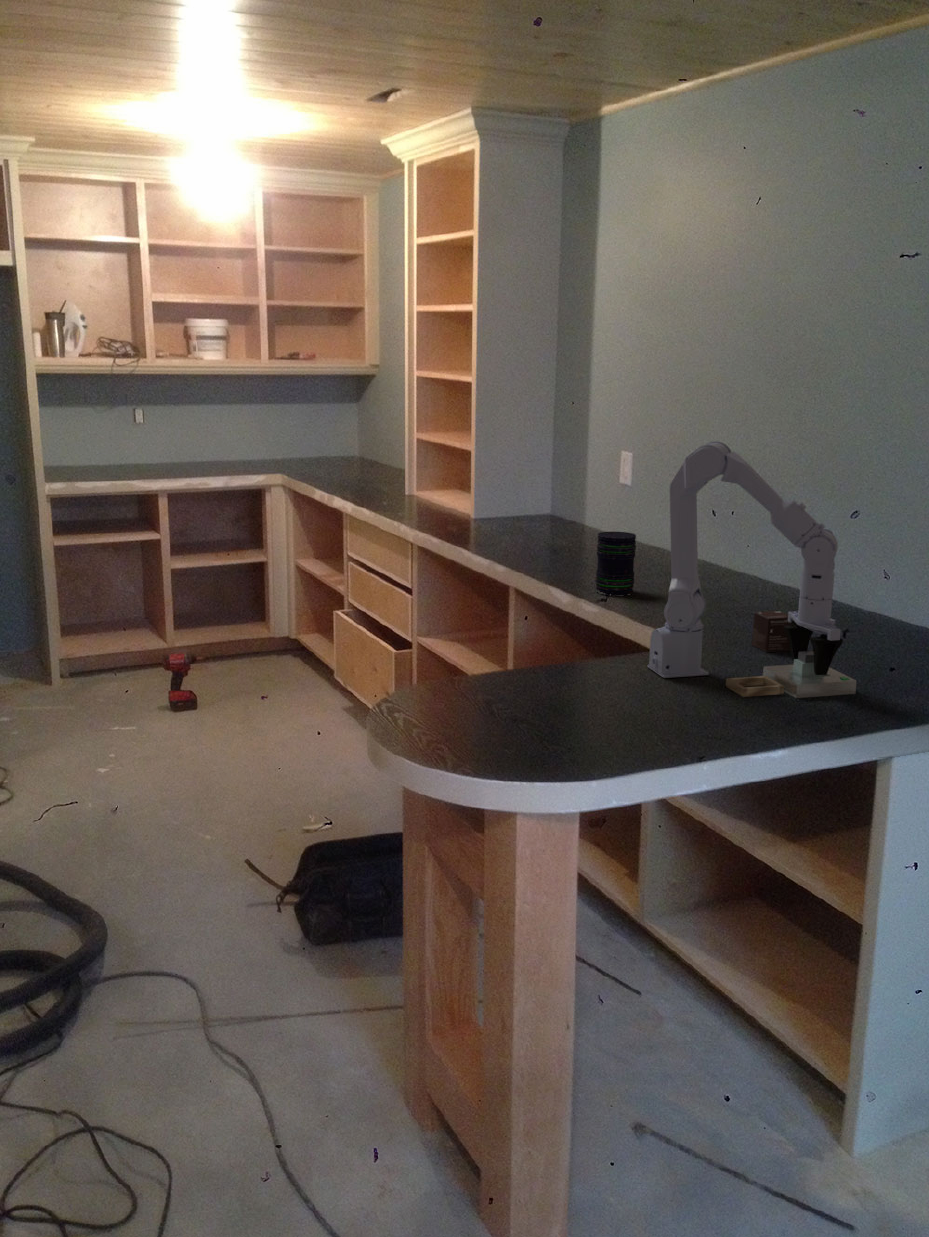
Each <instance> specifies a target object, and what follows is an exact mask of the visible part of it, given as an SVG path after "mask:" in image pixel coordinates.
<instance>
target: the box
mask: <svg viewBox="0 0 929 1237" xmlns="http://www.w3.org/2000/svg"><path fill="white" fill-rule="evenodd" d="M790 624H791V623H790V622H788V614H787V613H785V612H782V611H779V610H778V611H776V610H775V611H771V610H769V611H765V610H764V611H754V614H753V624H752V634H751V635H752V636H751V646H753V647H754V648H757V649H759V650H761V651H763V652H764V653H776V652H778V653H779V652H789V651H790V652H791V649H790V644H789V640H788V638H787V635H786V633H785V631H784V626H785V625H790Z"/></svg>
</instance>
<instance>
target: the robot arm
mask: <svg viewBox="0 0 929 1237" xmlns="http://www.w3.org/2000/svg"><path fill="white" fill-rule="evenodd" d="M721 475H722V477H721V478H720V482H724V483H725V482H726V483H729V484H736V485H739V487H740V488H742V489H743V490H744V491H745V492H747V493H748V494H749V495H750V497H752V498H753V499H755V500H756V501H757V502H758V503H759V504H760V505H761V506H763V507H764V509H766V510H767V511H768V512H769V514H770V523H771V525H772V526H773V527H775V529H776V530H778V531H779V532H780V533H781V534H782V535H783V537H785V538H786V539H787V540H788V541H789V542H790V543H791V544H792V545H793V546H794V547H795V548H799V549H800V551H801V556H802V558H803V564H802V565H803V567H802V571H801V573H800V574H801V575H800V587H799V600H798V611H797V610H796V611H788V614H787V615H788V622H790V623H791V624H790V625H785V626H784V631H785V633H786V635H787V638H788V640H789V644H790V649H791V651H790V654H791V659H792V663H793V664H794V659H798V654H799V652H803V651H809V644H810V643H811V646H812V651H813V652H814V672H815V674H816V675H827V672H828V670H829V667H830V666H831V664H832V661H833V659H834V657H835V655H836V653H837V652H838V650H839V648H841V646H842V645H843V644H844V639H843V638H841V632H842V630H841V628H838V627H837V626H836V625H835V624H836V620H835V619H833V618H831V617H832V616H831V615H832V606H833V596H834V594H833V593H834V584H835V572H834V570H835V567H836V565H835V558H836V555H837V551H838V548H839V544H838V540H837V537H836V536H835V535H834V533H833V531H832V530H831V529H830V530H829V529H827V528H826V525H825V524H824V523H822V522H820V523H819V522H817V520H816V519H815V518H814V517H813V516H811V514H810V513H808V512H807V511H806V510H805V509H806V508H807V506H806V505H805V503H803V502H800V503H798V502H796V500H793V499H791V500H790V499H789V500H787V499H786V500H785V499H783V498H782V496H780V495H779V494H778V493H777V492H776V491H775V489H774V488H772V486H770V484H769V483H768V482H767V481H766V480H765V479H764V478H763V477H762V476H761V475H760V474H759V473H758V472H757V471H756V470H755V469H754V468H753V467H752V466H751V465H750V464H749V463H748V462H747V461H746V460H745V459H744V458H743V457H742V456H741V455H739V454H738V453H737V452H735V451H732V450H731V448H730V447H729V446H728V445H727V444H725V443H724V442H722V441H718V440H715V441H710V442H708V443H706V444H703V445H700V446H698V447H696V448H695V449H694V450H693V451H692V452H690V453H689V454H688V455H686V456H685V458H684V460H683V463H682V464H681V466H680V468H679V469H678V471H677V473H676V474H675V475H674V477H673V479H672V480H671V482H670V483H669V522H670V564H671V565H670V566H671V568H670V570H671V571H670V572H671V574H670V575H671V580H670V585H669V586H668V587H669V588H668V599H667V602H666V604H665V606H664V610H663V615H664V616H663V618H664V619H665V621H666V622H664V626H662V627H659V628H653V630H652V631H651V634H650V643H649V644H650V645H649V660H648V662H649V664H647V668H649V670H651V671H653V672H654V673H655V674H657V675H659V676H660V677H662V678H663V679H669V678H683V677H684V678H686V677H697V676H698V677H700V676H701V677H702V676H709V675H710V673H709V672H708V671H707V670H705V669H704V668H702V667H701V665H702V651H703V634H704V623H703V622H702V620H701V618H700V617H701V616H703V614H704V613H705V612H706V611H705V610H706V606H707V603H706V599H705V596H704V595H703V592H702V589H701V581H700V577H699V573H698V572H699V567H698V566H699V565H698V564H699V563H698V562H699V561H698V558H699V557H698V556H699V555H698V504H697V503H698V502H697V500H698V499H697V496H698V495H697V494H698V493H699V491H701V490H702V489H703V488H704V487H705V486H706V485H707V484H708V483H710V481H712V480H714V479H715V478H718V477H719V476H721ZM813 633H816V634H818V635H819V636H812V635H813ZM830 668H831V667H830Z"/></svg>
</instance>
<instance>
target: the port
mask: <svg viewBox="0 0 929 1237" xmlns="http://www.w3.org/2000/svg"><path fill="white" fill-rule="evenodd" d="M793 665H794V663H793V664H785V665H784V664H782V665H781V664H780V665H767V666H765V665H764V666H763V670H762V672H763V673H762V676H767V677H769V678H771V679H772V680H774V681H776V682H778V683H779V684H781V685H783V686H784V693H786V694H789V696H792V697H794V698H795V699H802V698H804V699H805V698H817V697H829V696H832V697H833V696H842V695H843V696H844V695H855V694H856V690H857V680H856V679H855V678H852V677H851V676H848V675H846V674H844V673H842V672H840V671H839V670H836V669H834V668H832V667H829V670H828V672H827V675H823V676H822V677H807V678H800V677H798V676H796V675H795V674H793Z"/></svg>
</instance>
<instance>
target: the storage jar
mask: <svg viewBox="0 0 929 1237" xmlns="http://www.w3.org/2000/svg"><path fill="white" fill-rule="evenodd" d="M636 539H637V535H636V534H635V533H632V532H628V531H627V532H626V531H603V532H598V533H597V543H596V556H597V565H596V566H597V567H596V571H595V590H596V589H597V590H599V591H600V592H603V593H606V594H611V595H628V594H632V593H633V594H634V584H635V571H634V567H635V566H634V565H635V557H636V550H637V549H636V548H637V545H636ZM633 594H632V595H633Z"/></svg>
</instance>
